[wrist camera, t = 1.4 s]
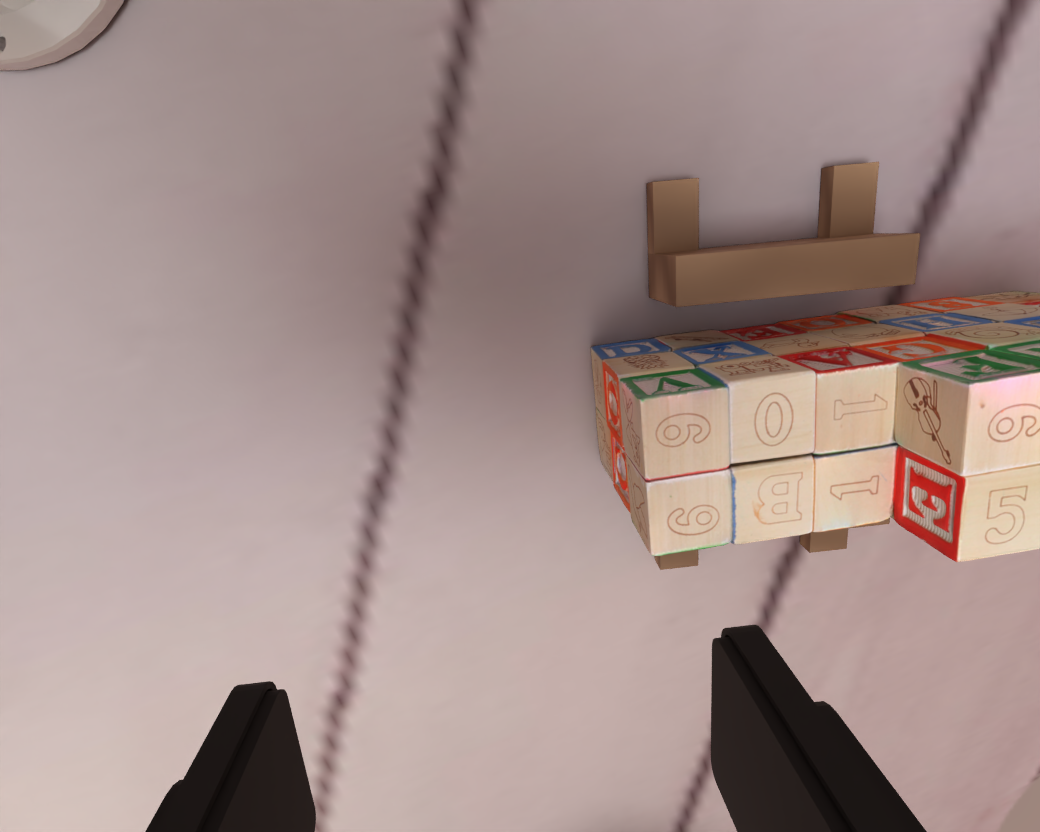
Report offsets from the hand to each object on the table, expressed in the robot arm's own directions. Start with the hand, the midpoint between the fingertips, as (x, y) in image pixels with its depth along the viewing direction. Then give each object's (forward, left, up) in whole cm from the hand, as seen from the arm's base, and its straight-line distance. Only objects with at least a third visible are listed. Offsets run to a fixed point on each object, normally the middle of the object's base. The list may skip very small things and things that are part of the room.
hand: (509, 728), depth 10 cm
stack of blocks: (0, +16, -20) cm, 26 cm away
